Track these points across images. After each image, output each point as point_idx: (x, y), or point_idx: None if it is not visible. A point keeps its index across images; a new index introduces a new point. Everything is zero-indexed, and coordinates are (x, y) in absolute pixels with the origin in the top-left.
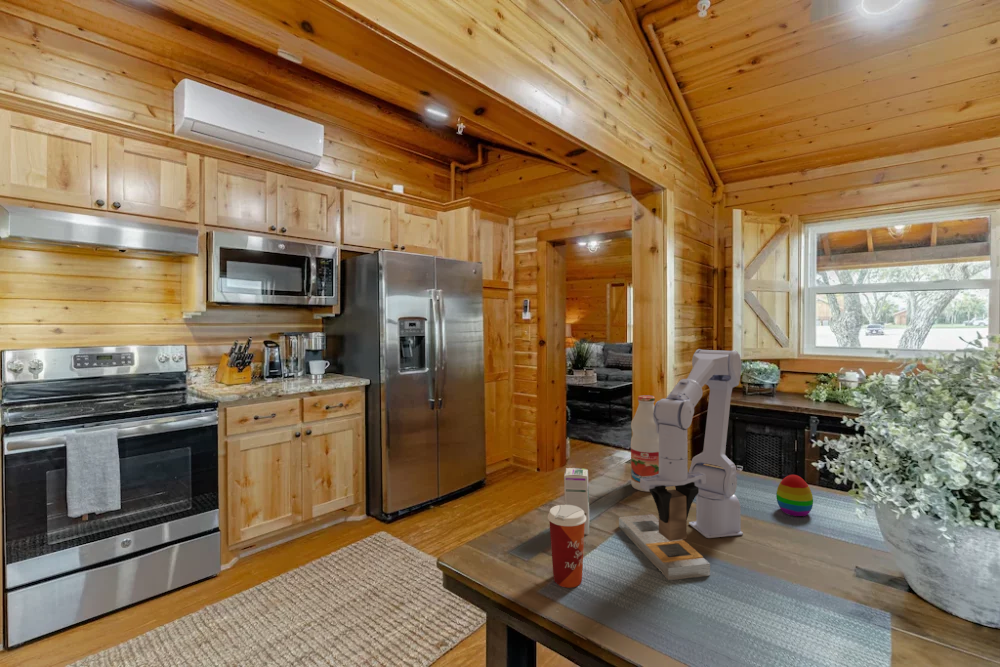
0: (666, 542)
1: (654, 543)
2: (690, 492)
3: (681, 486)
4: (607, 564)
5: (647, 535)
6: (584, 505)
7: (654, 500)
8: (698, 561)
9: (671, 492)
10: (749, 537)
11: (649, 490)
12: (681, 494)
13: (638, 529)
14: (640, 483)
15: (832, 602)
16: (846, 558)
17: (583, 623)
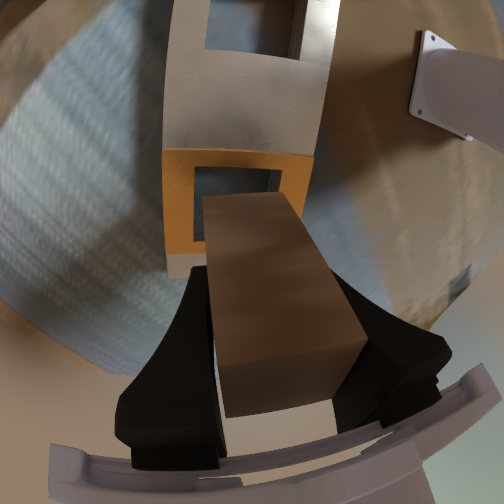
0: (244, 155)
1: (195, 153)
2: (339, 428)
3: (364, 410)
4: (45, 170)
5: (209, 81)
6: None
7: (164, 337)
8: None
9: (301, 376)
10: (468, 150)
11: (127, 388)
12: (329, 388)
13: (203, 26)
14: (51, 470)
15: None
16: (482, 248)
17: (14, 320)
